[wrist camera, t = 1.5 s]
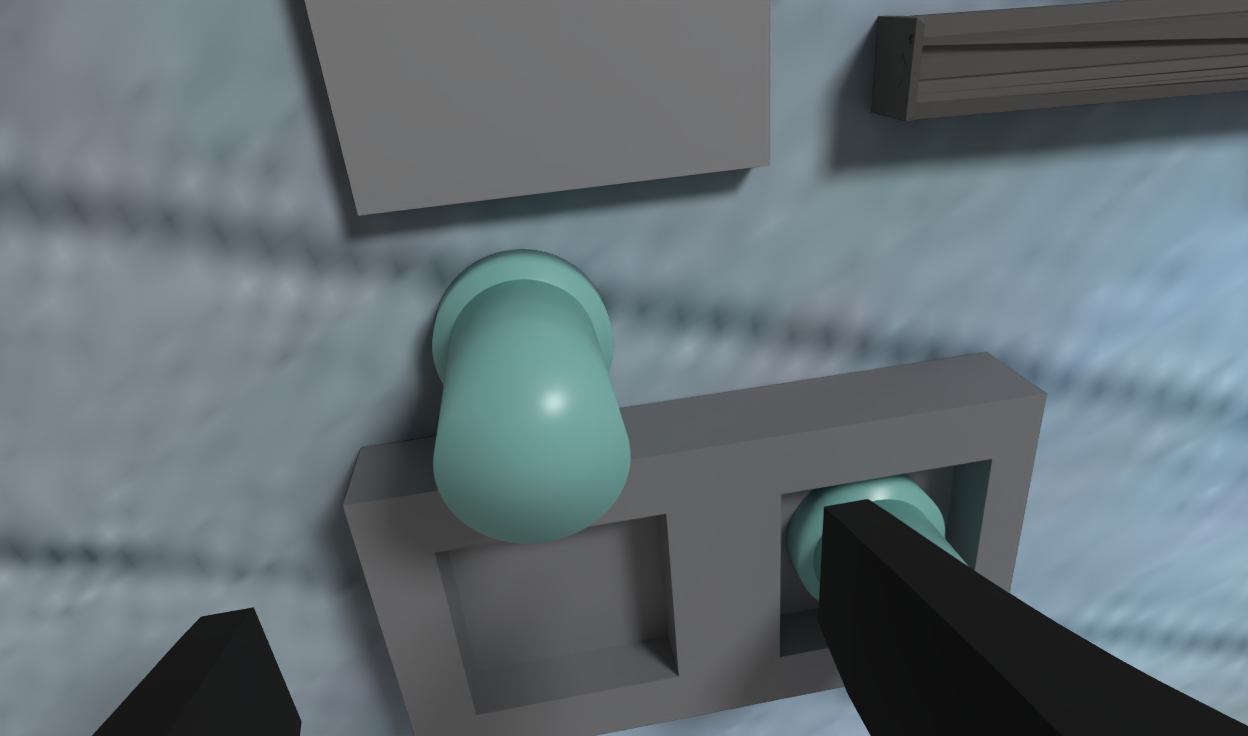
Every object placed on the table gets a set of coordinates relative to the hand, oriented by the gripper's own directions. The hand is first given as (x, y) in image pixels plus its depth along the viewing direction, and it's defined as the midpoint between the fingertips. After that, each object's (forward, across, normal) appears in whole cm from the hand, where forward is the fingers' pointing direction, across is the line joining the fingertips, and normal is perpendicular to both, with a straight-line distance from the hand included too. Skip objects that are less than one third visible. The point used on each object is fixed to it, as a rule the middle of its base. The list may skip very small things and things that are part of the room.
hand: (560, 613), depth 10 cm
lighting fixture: (+10, -18, -4) cm, 21 cm away
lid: (+10, -1, -6) cm, 12 cm away
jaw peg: (+10, 0, 0) cm, 10 cm away
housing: (+10, -4, +7) cm, 13 cm away
